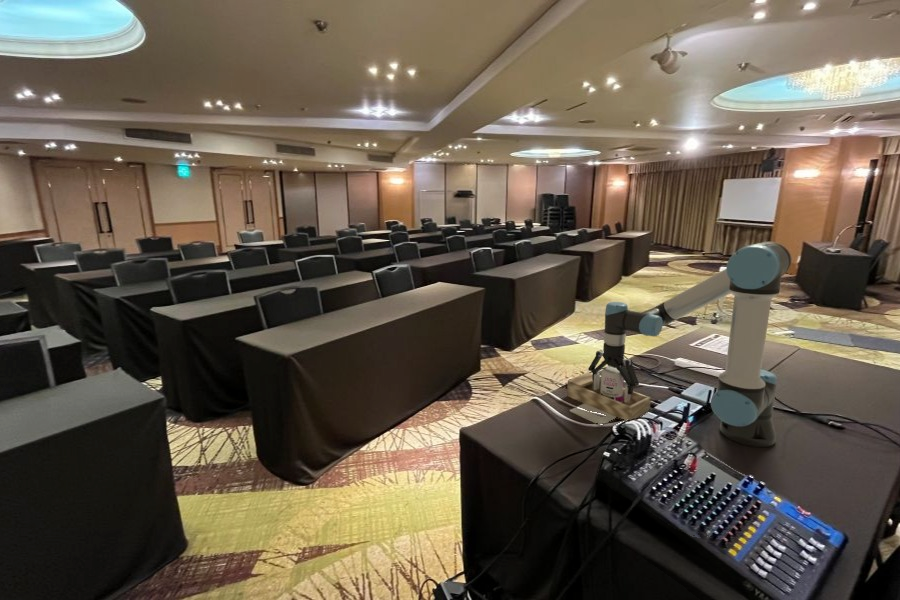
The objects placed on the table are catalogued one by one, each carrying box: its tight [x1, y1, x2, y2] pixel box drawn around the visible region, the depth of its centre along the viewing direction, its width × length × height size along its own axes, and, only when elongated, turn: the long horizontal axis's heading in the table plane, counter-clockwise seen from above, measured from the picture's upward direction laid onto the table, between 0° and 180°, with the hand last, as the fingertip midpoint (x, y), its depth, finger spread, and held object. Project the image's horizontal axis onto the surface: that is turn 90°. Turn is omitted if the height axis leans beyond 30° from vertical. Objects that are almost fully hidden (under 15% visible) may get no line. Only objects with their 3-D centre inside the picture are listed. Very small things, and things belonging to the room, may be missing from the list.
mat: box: [569, 403, 617, 425], centre depth 154 cm, size 14×9×1 cm, turn 35°
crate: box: [566, 371, 651, 420], centre depth 161 cm, size 28×13×7 cm, turn 35°
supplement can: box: [600, 365, 625, 404], centre depth 159 cm, size 8×8×15 cm
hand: (611, 394), depth 160 cm, fingers open, 13 cm apart
